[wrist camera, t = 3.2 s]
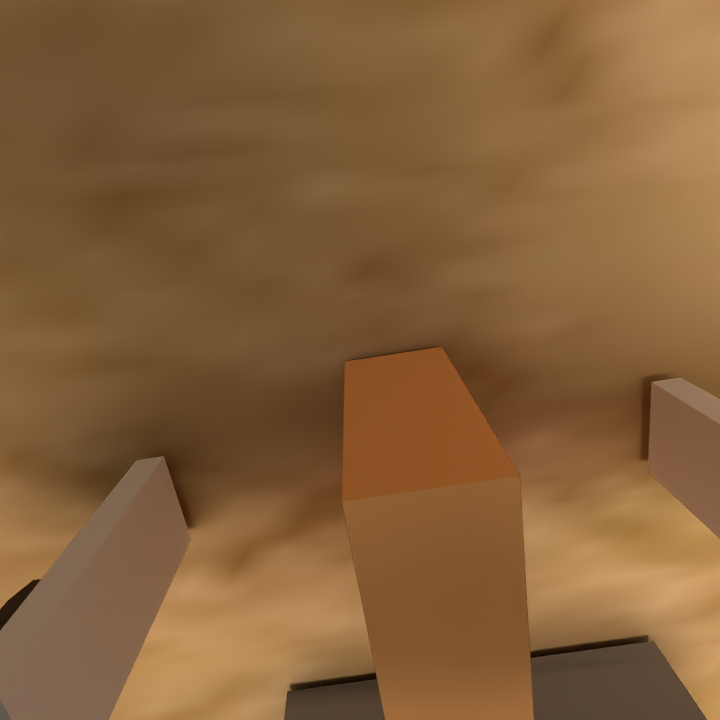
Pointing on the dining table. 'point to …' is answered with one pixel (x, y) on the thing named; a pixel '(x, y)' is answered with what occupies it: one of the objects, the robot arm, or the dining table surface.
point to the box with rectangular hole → (545, 690)
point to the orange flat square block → (435, 542)
